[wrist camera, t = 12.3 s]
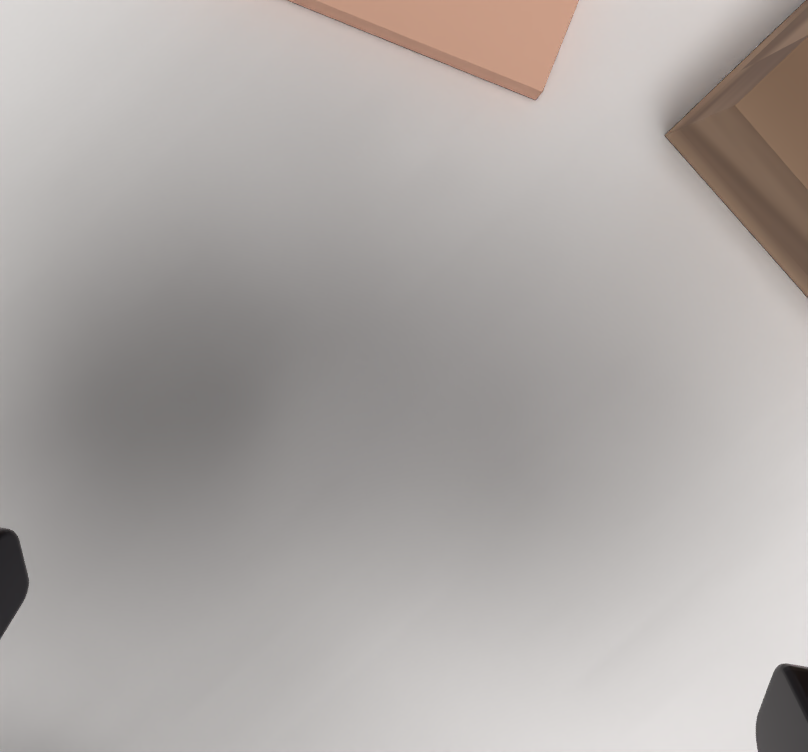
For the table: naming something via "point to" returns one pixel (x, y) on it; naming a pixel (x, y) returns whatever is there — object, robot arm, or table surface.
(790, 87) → the socket block
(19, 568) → the robot arm
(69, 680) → the table surface
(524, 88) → the mat
